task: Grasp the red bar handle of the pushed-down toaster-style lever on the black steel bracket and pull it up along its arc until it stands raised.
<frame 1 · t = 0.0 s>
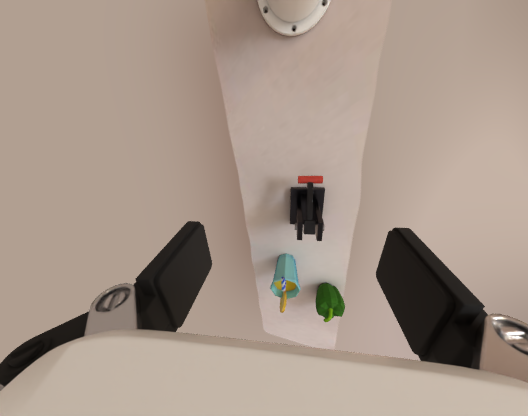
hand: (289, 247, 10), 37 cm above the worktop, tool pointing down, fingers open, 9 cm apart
cup: (286, 257, 58), on the worktop
lever: (309, 204, 40), point 8 cm above the worktop, hinge at -28.0°
bell pepper: (326, 288, 62), on the worktop
bracket: (306, 205, 49), on the worktop
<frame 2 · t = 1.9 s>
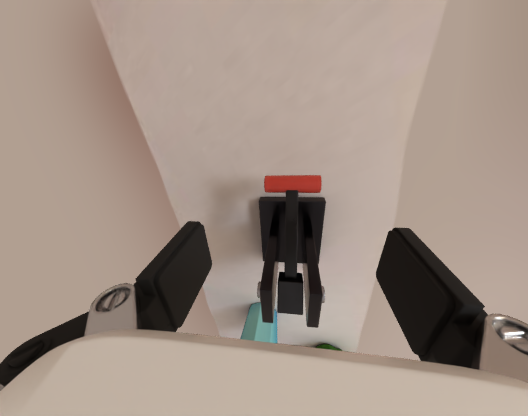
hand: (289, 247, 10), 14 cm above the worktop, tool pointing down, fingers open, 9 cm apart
cup: (262, 307, 36), on the worktop
lever: (291, 241, 18), point 8 cm above the worktop, hinge at -28.0°
bracket: (290, 229, 26), on the worktop
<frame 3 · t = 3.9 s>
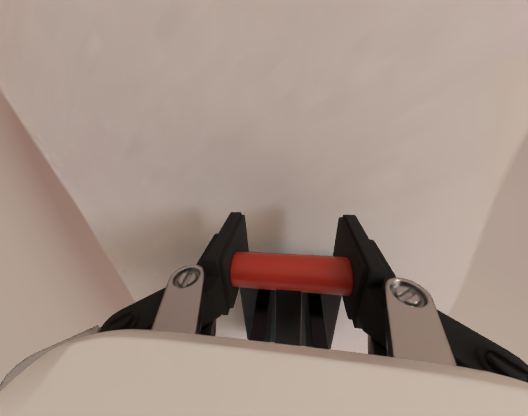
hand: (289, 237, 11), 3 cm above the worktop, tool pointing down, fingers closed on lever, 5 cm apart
lever: (286, 391, 8), point 8 cm above the worktop, hinge at -28.0°, touching gripper
bracket: (288, 299, 17), on the worktop
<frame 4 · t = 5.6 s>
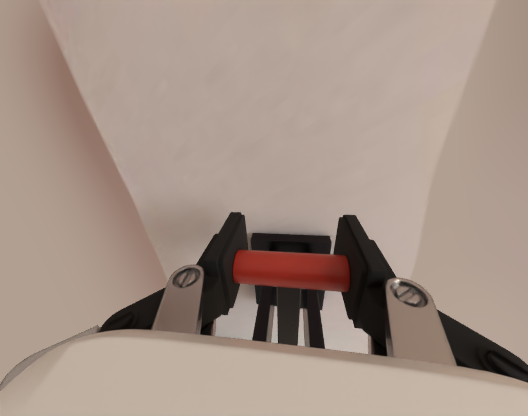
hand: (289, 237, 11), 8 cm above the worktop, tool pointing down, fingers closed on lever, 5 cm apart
lever: (287, 335, 11), point 10 cm above the worktop, hinge at 0.7°, touching gripper
bracket: (289, 269, 22), on the worktop
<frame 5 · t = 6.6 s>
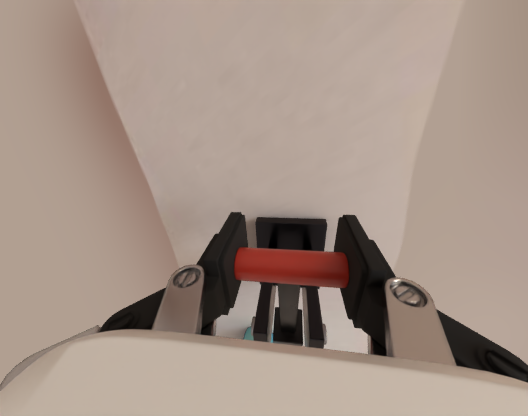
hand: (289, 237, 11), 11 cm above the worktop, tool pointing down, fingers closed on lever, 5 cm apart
lever: (288, 308, 13), point 11 cm above the worktop, hinge at 16.5°, touching gripper
bracket: (289, 251, 25), on the worktop
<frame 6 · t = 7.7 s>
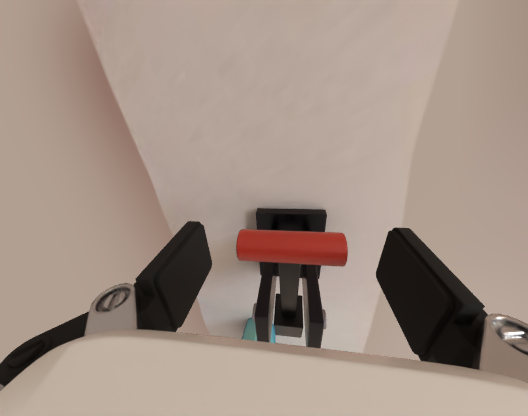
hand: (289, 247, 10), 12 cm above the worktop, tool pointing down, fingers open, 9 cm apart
lever: (288, 292, 13), point 11 cm above the worktop, hinge at 16.3°
bracket: (289, 242, 25), on the worktop
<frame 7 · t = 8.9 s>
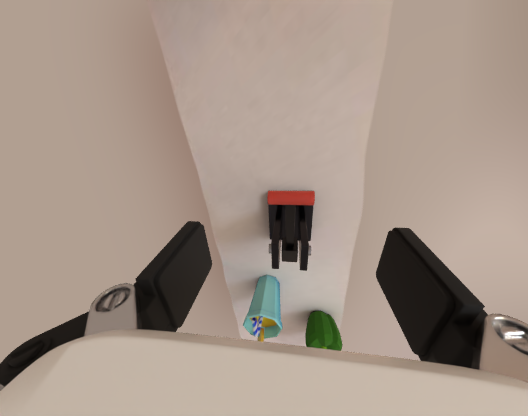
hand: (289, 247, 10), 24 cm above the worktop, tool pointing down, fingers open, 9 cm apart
cup: (268, 279, 46), on the worktop
lever: (290, 228, 25), point 11 cm above the worktop, hinge at 16.3°
bell pepper: (319, 316, 50), on the worktop
bracket: (290, 215, 37), on the worktop
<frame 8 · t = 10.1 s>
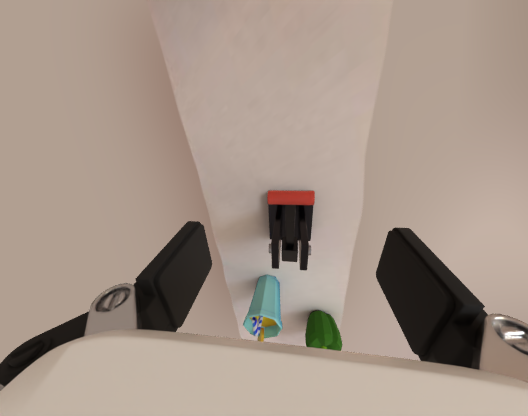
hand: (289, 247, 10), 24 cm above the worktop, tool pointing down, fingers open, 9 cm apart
cup: (268, 279, 46), on the worktop
lever: (290, 228, 25), point 11 cm above the worktop, hinge at 16.3°
bell pepper: (319, 315, 50), on the worktop
bracket: (290, 215, 37), on the worktop
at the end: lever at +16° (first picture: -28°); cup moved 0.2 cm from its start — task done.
